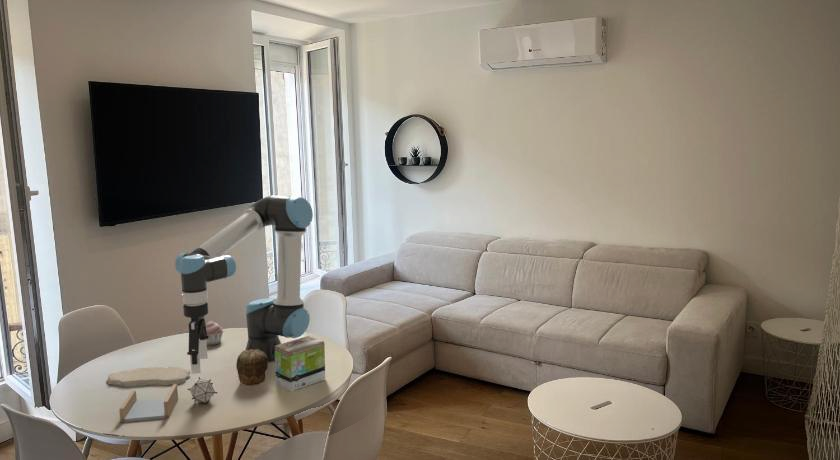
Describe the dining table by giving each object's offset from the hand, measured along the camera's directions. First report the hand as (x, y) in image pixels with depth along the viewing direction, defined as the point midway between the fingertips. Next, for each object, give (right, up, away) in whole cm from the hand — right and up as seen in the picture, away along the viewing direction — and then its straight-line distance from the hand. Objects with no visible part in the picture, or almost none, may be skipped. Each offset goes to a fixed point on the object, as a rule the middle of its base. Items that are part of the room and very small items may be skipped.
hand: (199, 365), depth 206 cm
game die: (0, -13, +2) cm, 13 cm away
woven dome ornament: (+13, -10, +18) cm, 25 cm away
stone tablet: (-27, -10, +25) cm, 38 cm away
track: (-15, -14, -3) cm, 21 cm away
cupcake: (-16, -4, +62) cm, 64 cm away
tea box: (+30, -10, +17) cm, 36 cm away
